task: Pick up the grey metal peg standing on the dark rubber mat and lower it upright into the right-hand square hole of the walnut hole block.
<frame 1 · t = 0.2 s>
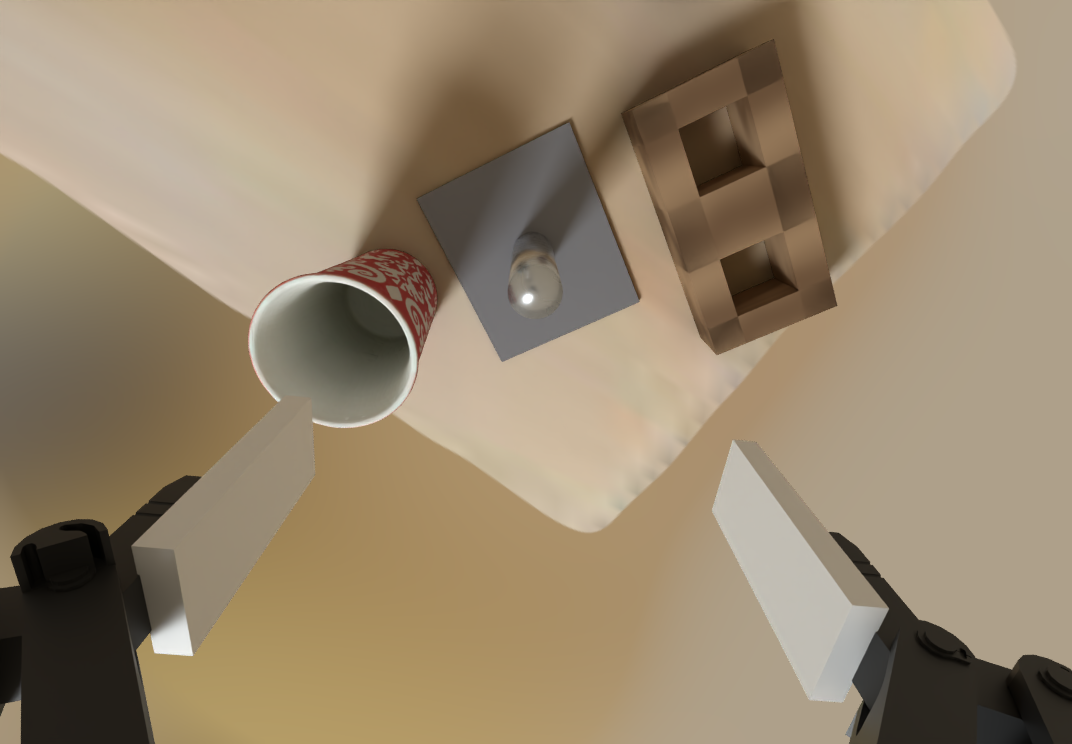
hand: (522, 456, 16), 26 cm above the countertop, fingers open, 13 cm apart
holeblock: (721, 208, 39), on the countertop
mat: (532, 251, 40), on the countertop
mug: (378, 309, 42), on the countertop
peg: (532, 252, 39), resting on mat
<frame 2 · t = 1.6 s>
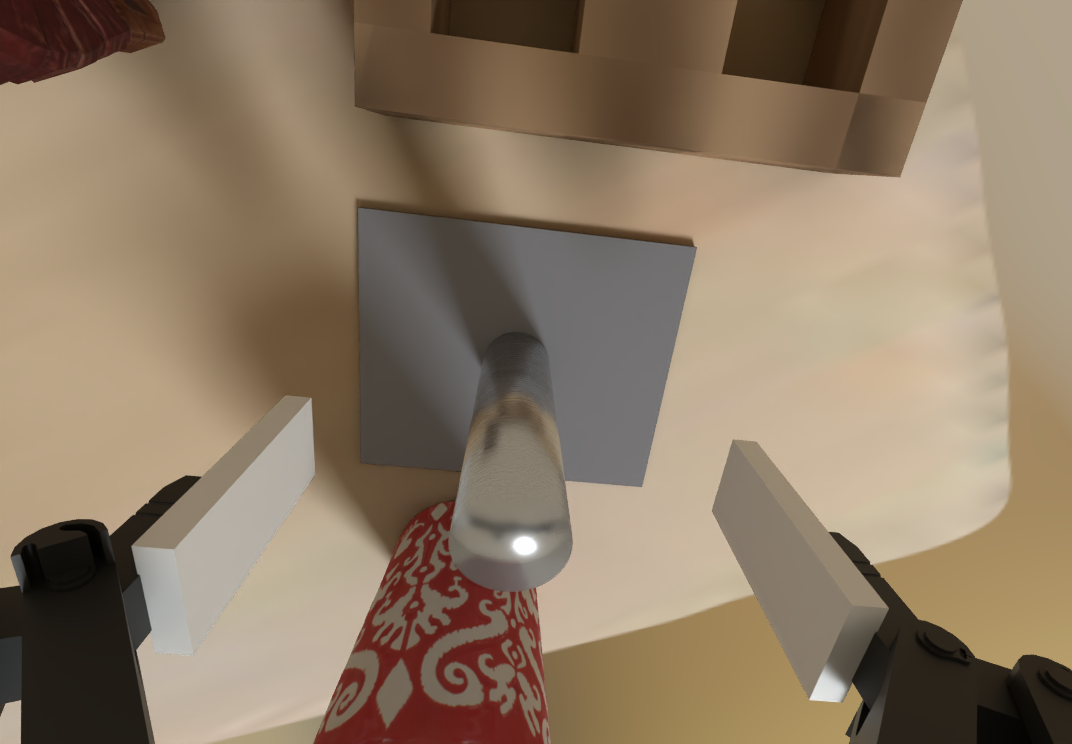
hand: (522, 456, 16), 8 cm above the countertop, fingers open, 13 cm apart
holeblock: (638, 11, 19), on the countertop
mat: (516, 360, 24), on the countertop
mug: (474, 575, 29), on the countertop
peg: (516, 363, 24), resting on mat
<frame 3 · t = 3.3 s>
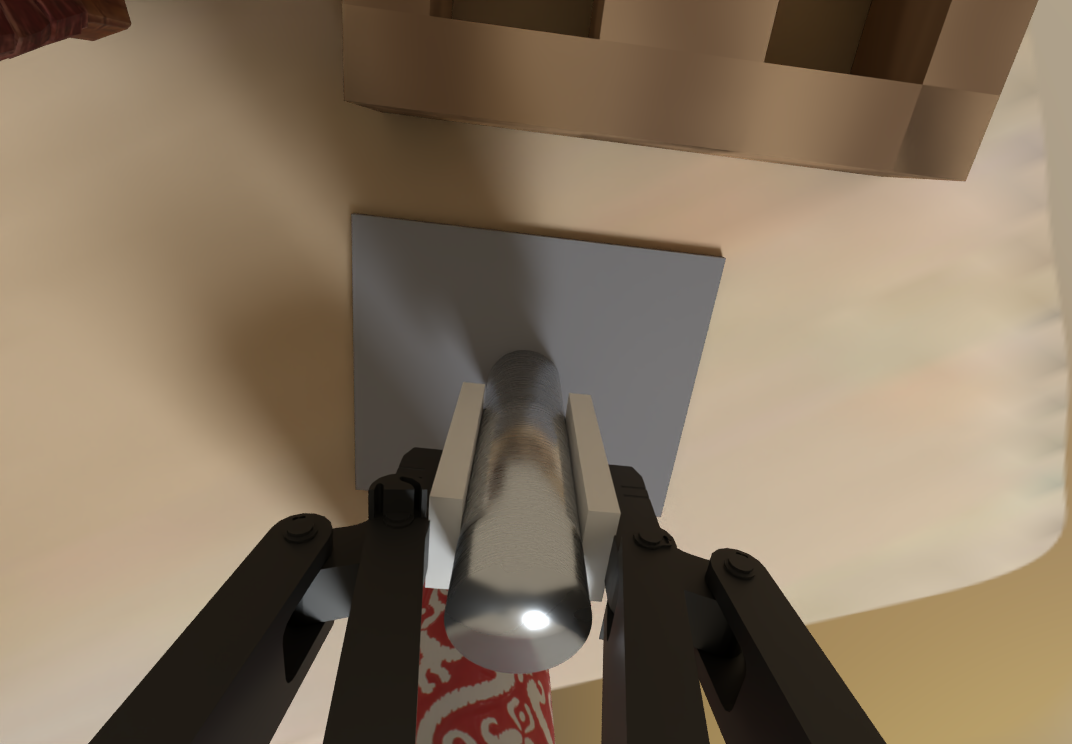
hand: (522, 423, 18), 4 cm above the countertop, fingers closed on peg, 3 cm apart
mat: (524, 381, 22), on the countertop
mug: (478, 607, 27), on the countertop
peg: (524, 384, 22), resting on mat, touching gripper
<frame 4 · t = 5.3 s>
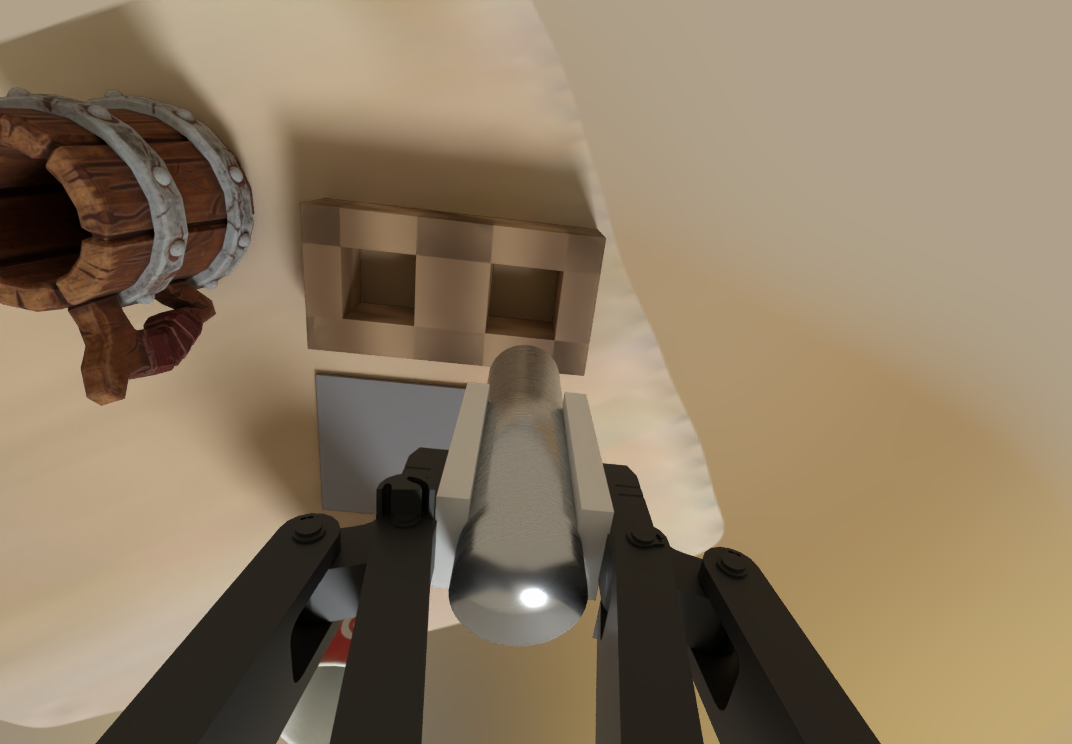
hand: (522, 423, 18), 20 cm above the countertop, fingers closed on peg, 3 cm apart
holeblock: (459, 281, 36), on the countertop
mat: (410, 452, 41), on the countertop
mug 2: (189, 221, 35), on the countertop
mug: (396, 576, 46), on the countertop
peg: (524, 378, 22), point 15 cm above the countertop, touching gripper
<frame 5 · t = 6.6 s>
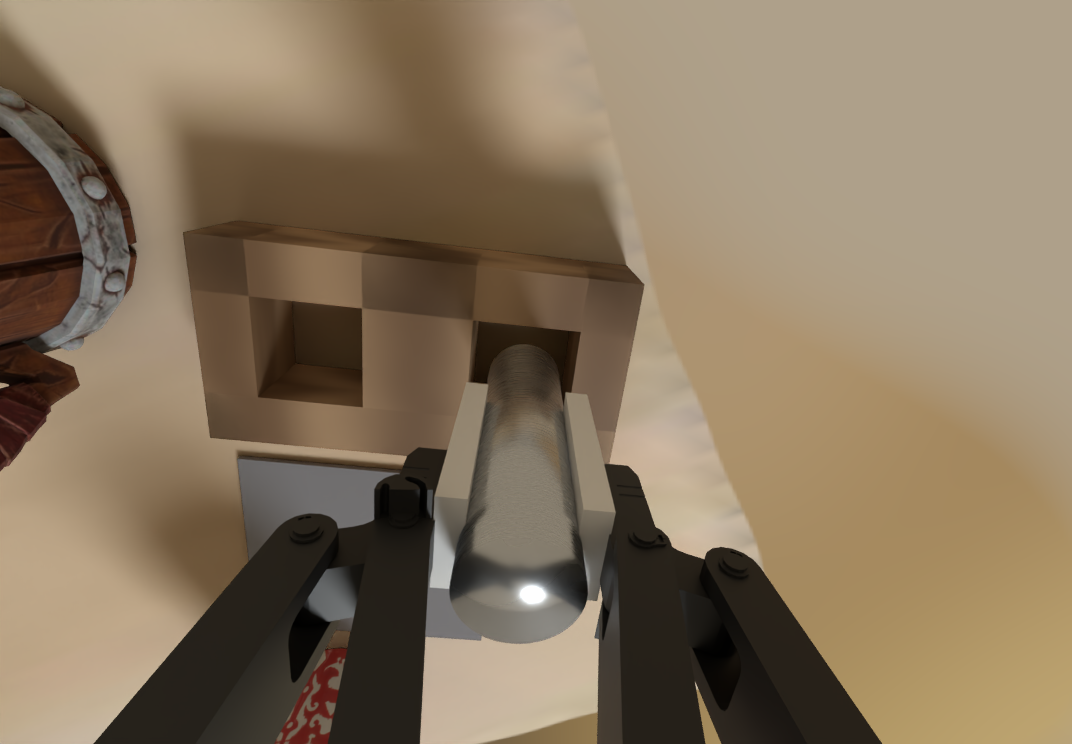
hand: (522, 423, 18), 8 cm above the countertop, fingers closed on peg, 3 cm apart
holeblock: (431, 335, 26), on the countertop
mat: (371, 553, 31), on the countertop
mug 2: (46, 252, 24), on the countertop
mug: (357, 699, 36), on the countertop
peg: (523, 377, 22), point 4 cm above the countertop, touching gripper
when the fingers open (6 cm above the countertop, at t = 7.6 s): peg drops 2 cm, resting in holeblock.
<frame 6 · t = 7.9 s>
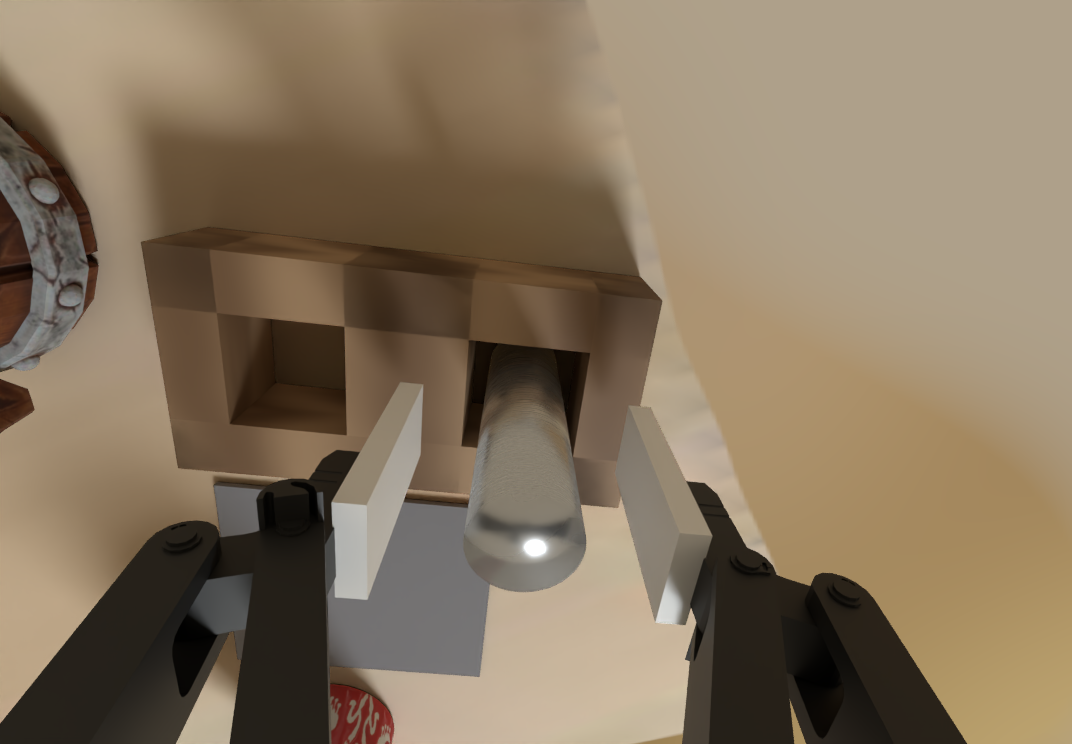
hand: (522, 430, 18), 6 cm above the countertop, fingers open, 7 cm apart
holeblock: (425, 353, 24), on the countertop
mat: (360, 585, 29), on the countertop
mug: (347, 736, 34), on the countertop
peg: (523, 364, 24), resting in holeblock
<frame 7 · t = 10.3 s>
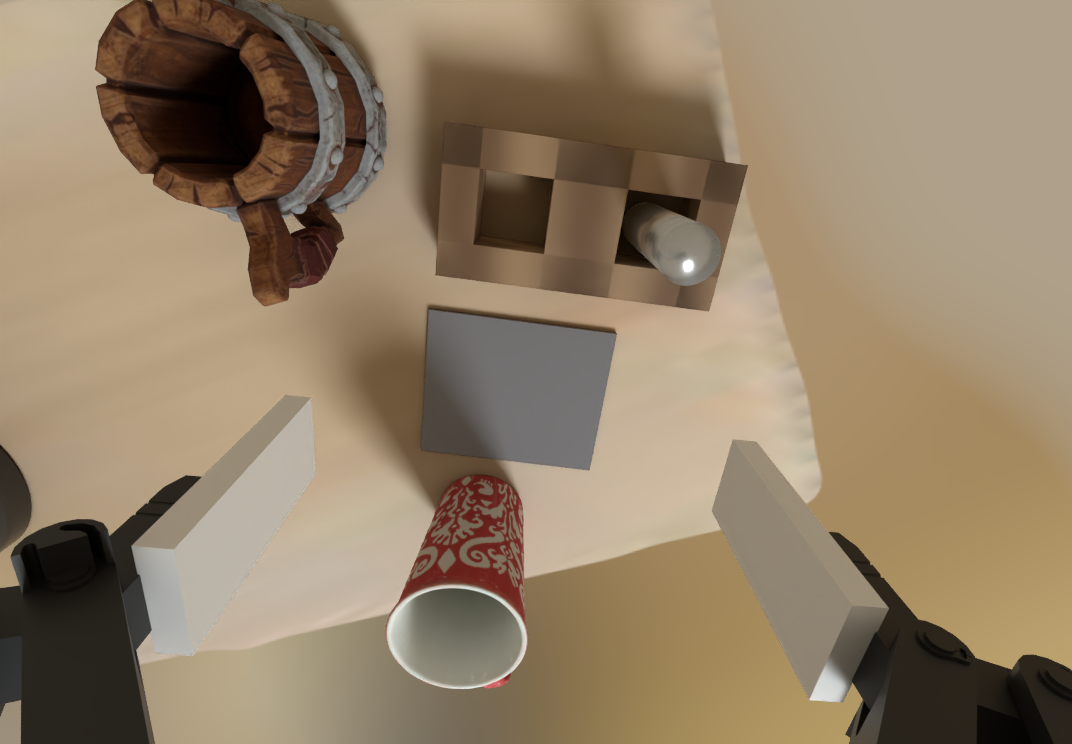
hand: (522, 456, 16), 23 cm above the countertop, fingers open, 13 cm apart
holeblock: (580, 215, 36), on the countertop
mat: (514, 393, 41), on the countertop
mug 2: (318, 147, 35), on the countertop
mug: (486, 523, 46), on the countertop
peg: (644, 225, 36), resting in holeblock
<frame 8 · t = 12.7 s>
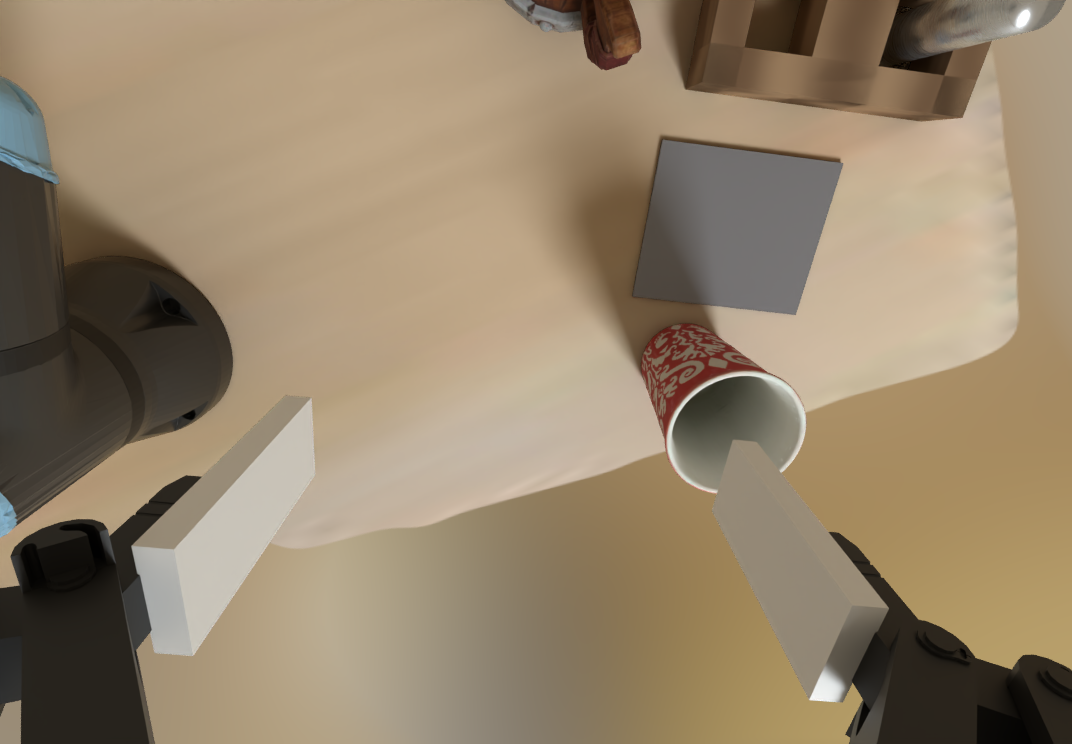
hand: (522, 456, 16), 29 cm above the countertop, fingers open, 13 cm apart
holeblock: (824, 34, 37), on the countertop
mat: (732, 232, 42), on the countertop
mug: (683, 378, 47), on the countertop
peg: (884, 43, 37), resting in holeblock
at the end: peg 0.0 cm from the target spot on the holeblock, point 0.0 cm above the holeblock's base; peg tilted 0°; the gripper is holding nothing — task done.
